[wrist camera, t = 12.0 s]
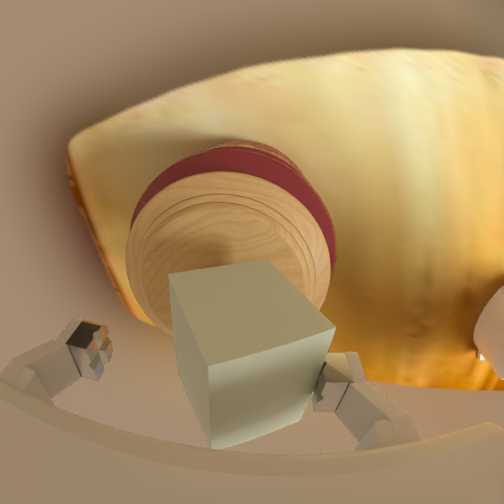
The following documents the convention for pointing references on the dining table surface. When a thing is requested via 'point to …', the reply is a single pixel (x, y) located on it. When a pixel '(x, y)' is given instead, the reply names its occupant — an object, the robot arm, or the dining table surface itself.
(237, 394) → the sage block
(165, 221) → the canister
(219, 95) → the dining table surface
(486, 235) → the dining table surface
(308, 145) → the dining table surface
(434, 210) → the dining table surface
